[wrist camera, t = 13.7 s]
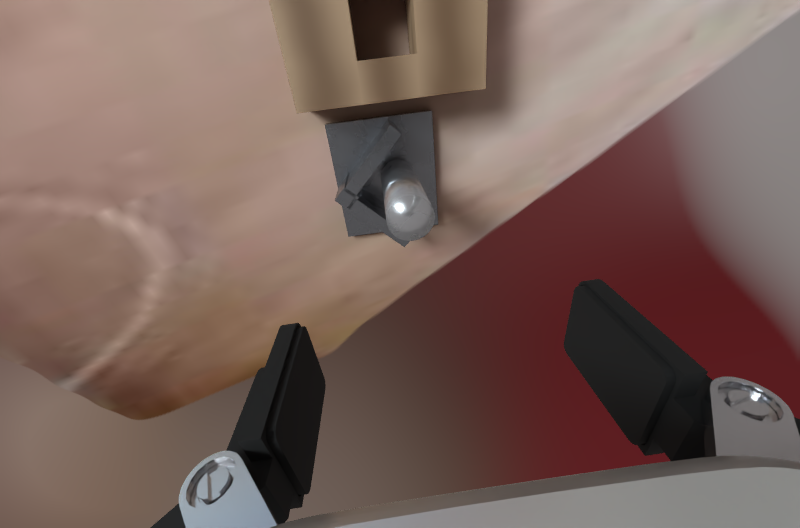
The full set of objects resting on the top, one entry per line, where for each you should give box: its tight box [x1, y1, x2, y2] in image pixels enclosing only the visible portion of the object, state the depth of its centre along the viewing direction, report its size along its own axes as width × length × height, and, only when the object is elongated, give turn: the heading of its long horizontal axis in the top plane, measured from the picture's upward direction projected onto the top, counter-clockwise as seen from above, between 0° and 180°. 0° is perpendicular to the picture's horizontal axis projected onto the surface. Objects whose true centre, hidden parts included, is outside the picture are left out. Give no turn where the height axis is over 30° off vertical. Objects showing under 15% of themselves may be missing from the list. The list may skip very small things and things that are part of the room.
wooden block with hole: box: [269, 0, 488, 113], centre depth 26 cm, size 16×11×5 cm
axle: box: [381, 160, 435, 241], centre depth 29 cm, size 4×4×12 cm
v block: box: [325, 110, 438, 247], centre depth 32 cm, size 12×10×6 cm
